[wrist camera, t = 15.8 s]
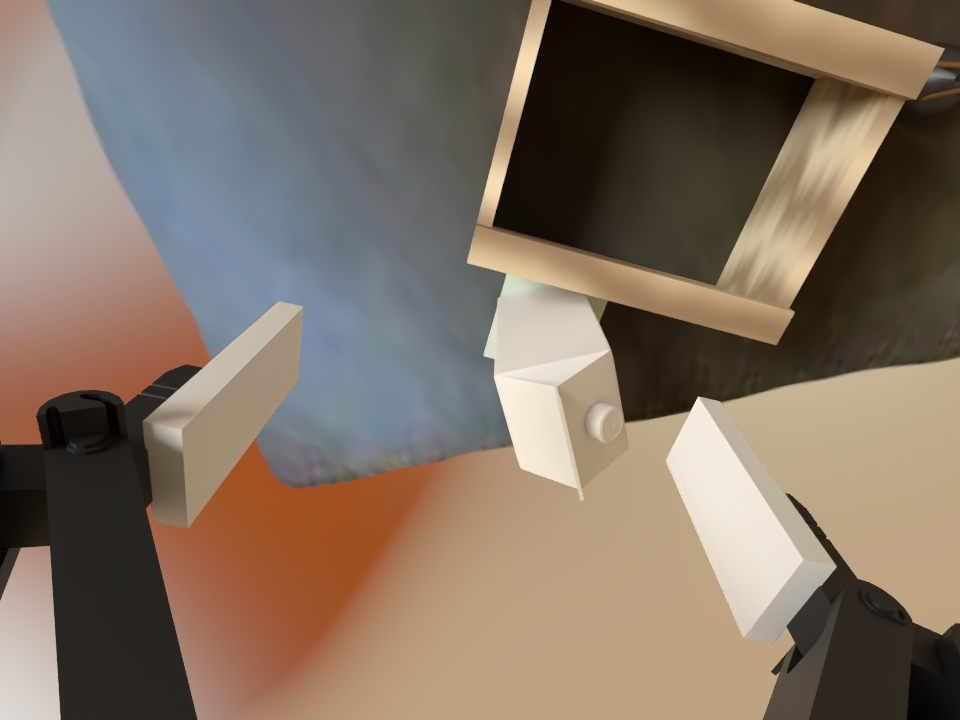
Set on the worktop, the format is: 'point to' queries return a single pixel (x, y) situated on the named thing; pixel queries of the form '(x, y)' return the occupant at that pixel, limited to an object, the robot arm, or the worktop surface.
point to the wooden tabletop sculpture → (937, 87)
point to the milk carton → (558, 385)
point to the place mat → (522, 284)
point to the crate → (789, 187)
